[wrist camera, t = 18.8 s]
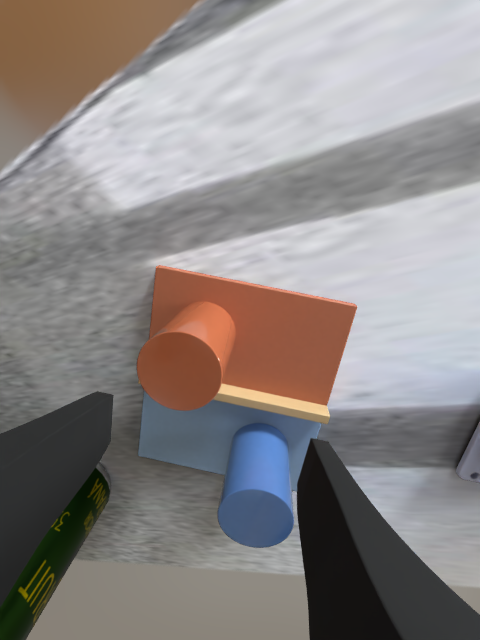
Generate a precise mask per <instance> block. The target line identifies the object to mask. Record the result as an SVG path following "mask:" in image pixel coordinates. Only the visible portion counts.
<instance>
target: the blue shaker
mask: <svg viewBox="0 0 480 640" xmlns="http://www.w3.org/2000/svg"><path fill="white" fill-rule="evenodd" d="M218 521H219V524H220V527H221V528H222V530H223V531H224V533H225V534H226V535H227V536H228V537H230V538H231V539H232V540H234V541H236V542H237V543H240V544H242V545H245V546H249V547H255V548H264V547H270V546H274V545H276V544H278V543H280V542H282V541H284V540H285V539H286V538H287V537H288V536H289V534H290V533H291V531H292V529H293V525H294V512H293V498H292V484H291V470H290V455H289V445H288V441H287V439H286V437H285V436H284V435H283V433H282V432H281V431H279V430H278V429H277V428H275V427H273V426H271V425H268V424H263V423H253V424H248V425H246V426H243V427H242V428H240V429H239V430H238V431H237V432H236V433H235V434H234V436H233V438H232V440H231V445H230V450H229V455H228V460H227V465H226V471H225V476H224V481H223V486H222V491H221V497H220V502H219V507H218Z"/></svg>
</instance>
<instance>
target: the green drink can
mask: <svg viewBox="0 0 480 640" xmlns="http://www.w3.org/2000/svg"><path fill="white" fill-rule="evenodd" d="M110 486H111V482H110V478H109V475H108V473H107V472H106V470H105V468H104V467H103V466H102V465H101V464H99V463H98V464H97V466H96V468H95V469H94V470H93V472H92V473H91V474H90V476H89V477H88V479H87V480H86V481H85V483H84V484H83V485H82V487H81V488H80V489H79V491H78V492H77V493H76V495H75V496H74V497H73V499H72V500H71V501H70V503H69V504H68V505H67V507H66V508H65V509H64V511H63V512H62V513H61V515H60V516H59V517H58V519H57V520H56V521H55V523H54V524H53V525H52V527H51V528H50V529H49V531H48V532H47V534H46V535H45V537H44V538H43V539H42V541H41V542H40V544H39V545H38V547H37V549H36V550H35V552H34V553H33V555H32V557H31V558H30V560H29V561H28V563H27V565H26V566H25V568H24V569H23V571H22V573H21V574H20V576H19V577H18V579H17V581H16V582H15V584H14V586H13V587H12V589H11V591H10V592H9V594H8V596H7V597H6V599H5V601H4V602H3V604H2V606H1V607H0V640H26V638H27V637H28V635H29V633H30V632H31V630H32V628H33V627H34V625H35V623H36V621H37V620H38V618H39V616H40V615H41V613H42V611H43V610H44V608H45V606H46V605H47V603H48V601H49V600H50V598H51V596H52V594H53V593H54V591H55V590H56V588H57V586H58V584H59V583H60V581H61V579H62V577H63V576H64V574H65V573H66V571H67V569H68V567H69V566H70V564H71V562H72V561H73V559H74V558H75V556H76V554H77V552H78V551H79V549H80V547H81V546H82V544H83V542H84V541H85V539H86V537H87V536H88V534H89V532H90V531H91V529H92V527H93V526H94V524H95V522H96V521H97V519H98V517H99V515H100V514H101V512H102V510H103V509H104V507H105V505H106V504H107V502H108V500H109V495H110Z"/></svg>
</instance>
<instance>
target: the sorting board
mask: <svg viewBox="0 0 480 640" xmlns="http://www.w3.org/2000/svg"><path fill="white" fill-rule="evenodd" d="M200 301H203V302H210V303H214V304H216V305H218V306H220V307H221V308H223V309H224V310H225V311H226V312H227V313H228V314H229V315H230V316H231V318H232V320H233V322H234V325H235V328H236V340H235V344H234V347H233V350H232V353H231V356H230V359H229V362H228V366H227V369H226V372H225V375H224V378H223V381H222V384H221V387H220V389H219V392H218V393H217V395H216V396H215V397H214V399H213V400H211V401H210V402H209V403H208V404H206V405H205V406H203V407H201V408H198V409H194V410H188V411H179V410H173V409H170V408H167V407H165V406H162V405H161V404H159V403H157V402H156V401H154V400H153V399H152V398H151V397H150V396H149V395H148V394H147V393H146V392H145V390H144V398H143V409H142V419H141V430H140V440H139V451H138V456H142V457H146V458H151V459H155V460H159V461H164V462H168V463H173V464H177V465H182V466H186V467H191V468H195V469H199V470H204V471H208V472H213V473H217V474H222V475H225V471H226V465H227V460H228V455H229V450H230V445H231V440H232V438H233V436H234V434H235V433H236V432H237V431H238V430H239V429H240V428H242V427H243V426H246V425H248V424H253V423H263V424H268V425H271V426H273V427H275V428H277V429H278V430H279V431H281V432H282V433H283V435H284V436H285V437H286V439H287V441H288V445H289V455H290V470H291V484H292V490H293V491H297V482H298V479H299V475H300V472H301V469H302V465H303V462H304V459H305V455H306V452H307V449H308V445H309V442H310V439H311V438H314V439H317V436H318V432H319V429H320V426H321V423H324V424H328V421H329V418H330V415H329V411H328V408H327V403H328V400H329V397H330V394H331V390H332V387H333V384H334V381H335V378H336V374H337V371H338V368H339V365H340V361H341V358H342V355H343V352H344V348H345V345H346V342H347V339H348V335H349V332H350V329H351V326H352V322H353V319H354V316H355V313H356V309H357V306H356V305H355V304H352V303H347V302H342V301H337V300H332V299H327V298H322V297H317V296H312V295H307V294H302V293H297V292H292V291H287V290H282V289H277V288H272V287H267V286H262V285H257V284H252V283H247V282H241V281H236V280H231V279H226V278H221V277H216V276H211V275H206V274H201V273H196V272H191V271H186V270H181V269H176V268H171V267H166V266H161V265H159V266H156V272H155V283H154V293H153V304H152V314H151V324H150V335H149V339H150V338H151V337H152V336H154V335H155V334H156V333H157V332H158V331H159V330H160V329H161V328H162V327H163V326H164V325H165V324H166V323H167V322H168V321H169V320H171V319H172V318H173V317H174V316H175V315H176V314H177V313H178V312H179V311H180V310H181V309H182V308H184V307H185V306H187V305H188V304H191V303H194V302H200ZM138 383H139V384H141V383H140V381H138Z"/></svg>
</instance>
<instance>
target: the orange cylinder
mask: <svg viewBox="0 0 480 640" xmlns="http://www.w3.org/2000/svg"><path fill="white" fill-rule="evenodd" d="M235 340H236V328H235V325H234V322H233V320H232V318H231V316H230V315H229V314H228V313H227V312H226V311H225V310H224V309H223V308H221V307H220V306H218V305H216V304H214V303H210V302H203V301H200V302H194V303H191V304H188V305H187V306H185V307H184V308H182V309H181V310H180V311H179V312H178V313H177V314H176V315H175V316H174V317H173V318H172V319H171V320H169V321H168V322H167V323H166V324H165V325H164V326H163V327H162V328H161V329H160V330H159V331H158V332H157V333H156V334H155V335H154V336H152V337H151V338H150V339H149V340H148V341H147V342H146V343H145V344H144V346H143V347H142V349H141V351H140V353H139V356H138V359H137V374H138V378H139V381H140V383H141V385H142V387H143V389H144V390H145V392H146V393H147V394H148V395H149V396H150V397H151V398H152V399H153V400H154V401H156V402H157V403H159V404H161V405H162V406H165V407H167V408H170V409H173V410H179V411H188V410H194V409H198V408H201V407H203V406H205V405H206V404H208V403H209V402H210V401H211V400H213V399H214V397H215V396H216V395H217V393H218V392H219V389H220V387H221V384H222V381H223V378H224V375H225V372H226V369H227V366H228V362H229V359H230V356H231V353H232V350H233V347H234V344H235Z"/></svg>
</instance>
